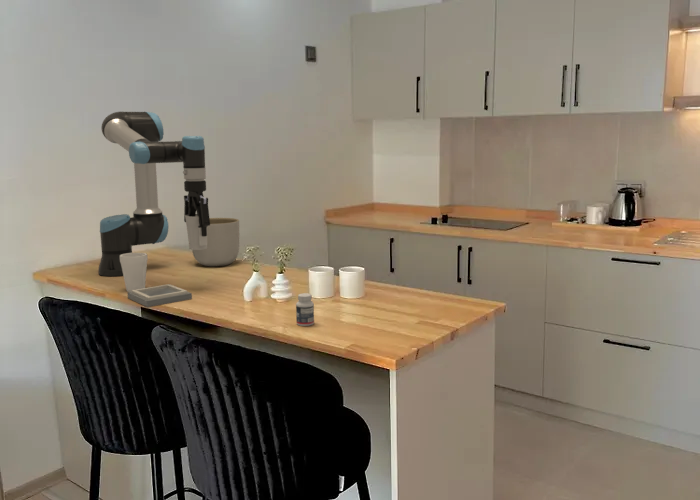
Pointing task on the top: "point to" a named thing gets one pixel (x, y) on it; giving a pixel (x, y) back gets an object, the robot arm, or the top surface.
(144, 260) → the foam cup
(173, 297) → the grey square tray
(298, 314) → the pill bottle
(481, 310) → the top surface
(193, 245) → the cup
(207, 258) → the planter
